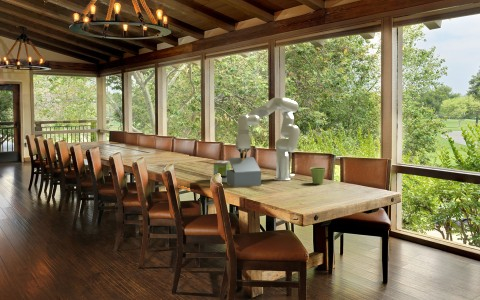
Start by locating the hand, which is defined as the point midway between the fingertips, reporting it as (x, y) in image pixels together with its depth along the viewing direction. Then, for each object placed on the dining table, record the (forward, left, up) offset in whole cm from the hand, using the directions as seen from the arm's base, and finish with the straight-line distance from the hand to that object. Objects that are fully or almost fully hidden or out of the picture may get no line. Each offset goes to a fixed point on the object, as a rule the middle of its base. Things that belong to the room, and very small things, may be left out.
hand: (243, 158), depth 302 cm
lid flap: (0, +2, -5) cm, 5 cm away
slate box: (0, +1, -19) cm, 19 cm away
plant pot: (-53, +15, -19) cm, 58 cm away
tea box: (+9, -20, -19) cm, 29 cm away
